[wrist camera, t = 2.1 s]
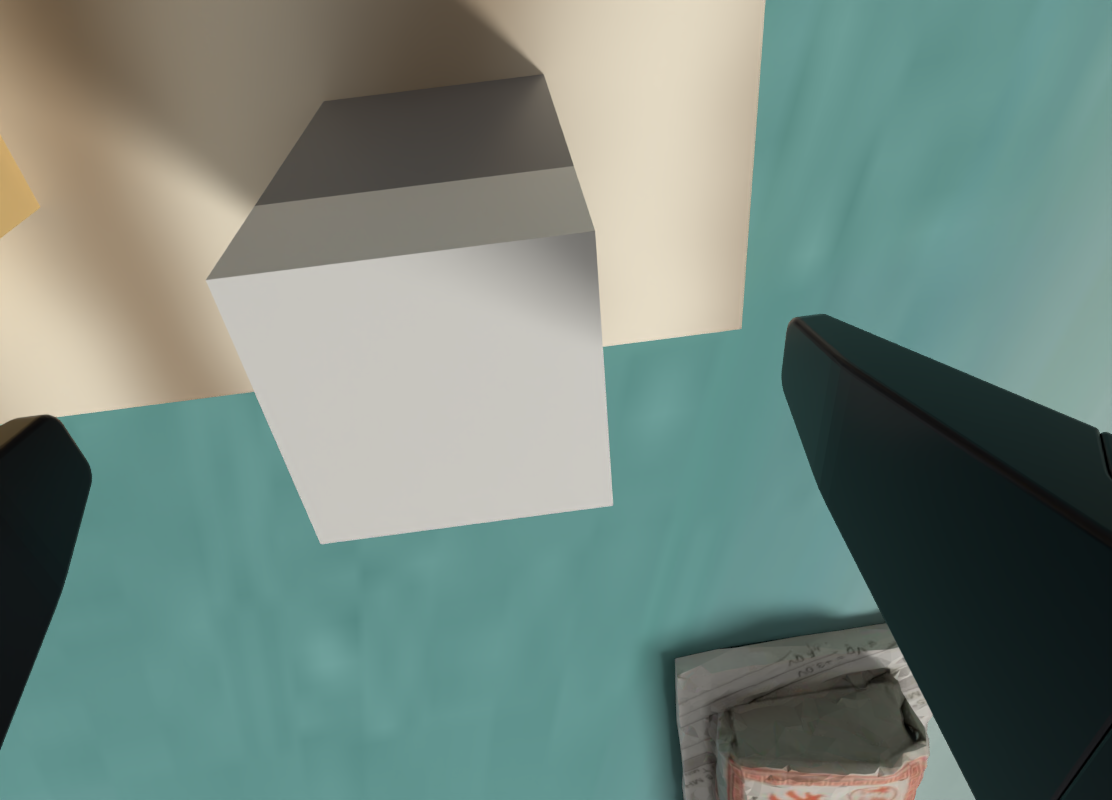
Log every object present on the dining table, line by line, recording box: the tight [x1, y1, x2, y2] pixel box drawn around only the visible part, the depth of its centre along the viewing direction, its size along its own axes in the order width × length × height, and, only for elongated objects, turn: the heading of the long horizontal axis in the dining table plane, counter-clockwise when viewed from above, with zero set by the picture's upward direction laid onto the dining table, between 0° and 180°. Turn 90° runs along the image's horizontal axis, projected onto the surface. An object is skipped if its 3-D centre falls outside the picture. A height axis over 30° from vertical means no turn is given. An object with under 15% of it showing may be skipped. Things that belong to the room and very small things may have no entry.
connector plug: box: [206, 74, 613, 544], centre depth 11 cm, size 4×4×7 cm
